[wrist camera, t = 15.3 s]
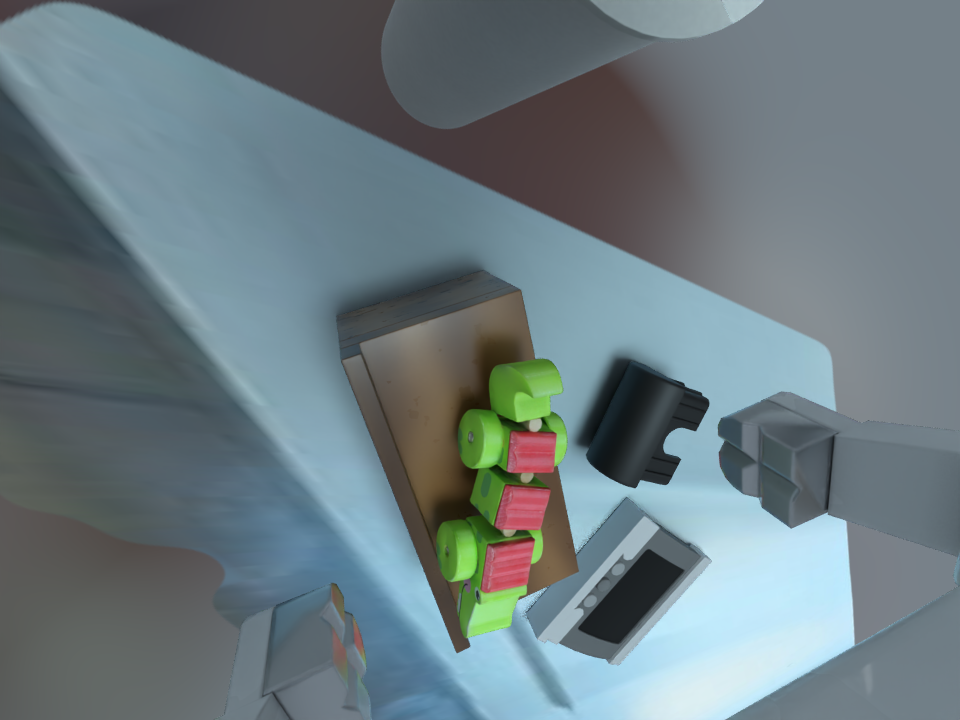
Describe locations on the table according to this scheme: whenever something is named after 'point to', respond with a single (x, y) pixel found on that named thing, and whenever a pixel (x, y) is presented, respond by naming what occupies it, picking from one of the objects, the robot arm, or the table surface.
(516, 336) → the shoe shelf
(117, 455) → the table surface
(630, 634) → the alarm clock
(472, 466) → the toy crocodile
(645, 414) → the end cap
